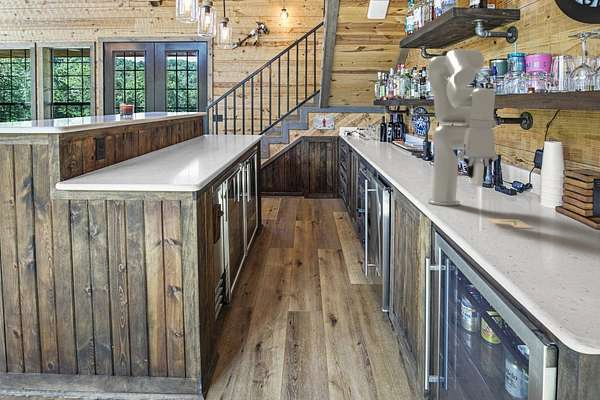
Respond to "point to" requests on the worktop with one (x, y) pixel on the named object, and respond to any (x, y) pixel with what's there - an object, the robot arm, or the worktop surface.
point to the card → (509, 223)
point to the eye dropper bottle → (477, 173)
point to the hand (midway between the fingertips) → (476, 176)
